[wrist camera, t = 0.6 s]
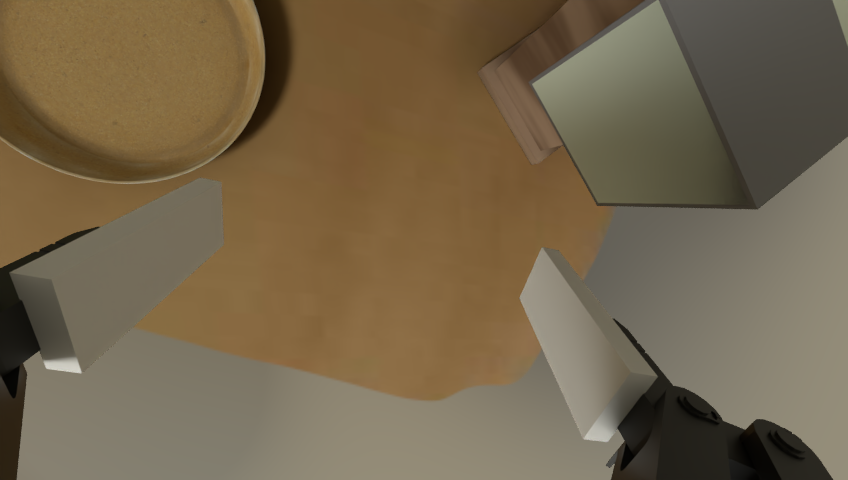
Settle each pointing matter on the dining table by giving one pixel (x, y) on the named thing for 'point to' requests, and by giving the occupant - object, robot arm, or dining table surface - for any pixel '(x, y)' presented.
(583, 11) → the stand
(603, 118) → the bar
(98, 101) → the plant saucer
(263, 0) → the dining table surface
